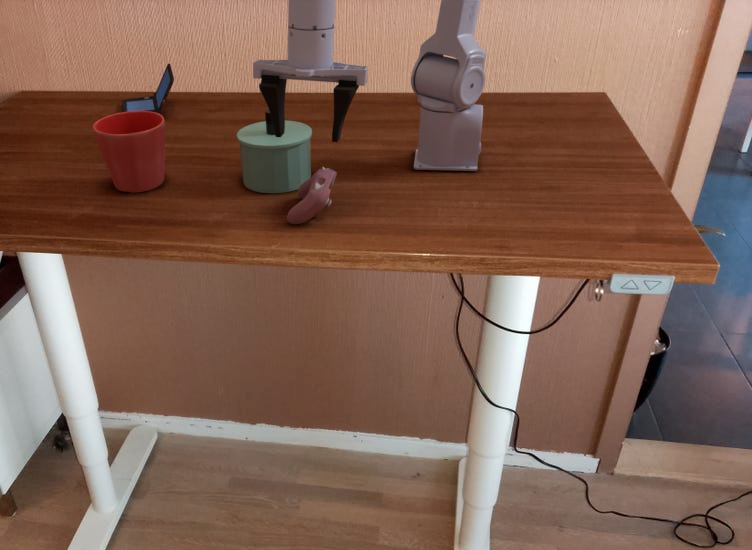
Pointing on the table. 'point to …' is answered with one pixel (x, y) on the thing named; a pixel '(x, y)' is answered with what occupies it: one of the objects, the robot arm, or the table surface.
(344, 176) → the table surface
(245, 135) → the pot lid
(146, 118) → the flower pot
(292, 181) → the pot
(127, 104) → the handheld console
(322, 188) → the video game controller
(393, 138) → the table surface
